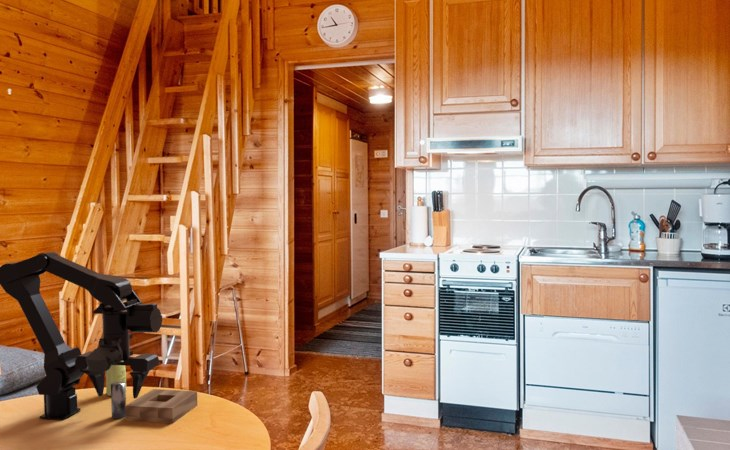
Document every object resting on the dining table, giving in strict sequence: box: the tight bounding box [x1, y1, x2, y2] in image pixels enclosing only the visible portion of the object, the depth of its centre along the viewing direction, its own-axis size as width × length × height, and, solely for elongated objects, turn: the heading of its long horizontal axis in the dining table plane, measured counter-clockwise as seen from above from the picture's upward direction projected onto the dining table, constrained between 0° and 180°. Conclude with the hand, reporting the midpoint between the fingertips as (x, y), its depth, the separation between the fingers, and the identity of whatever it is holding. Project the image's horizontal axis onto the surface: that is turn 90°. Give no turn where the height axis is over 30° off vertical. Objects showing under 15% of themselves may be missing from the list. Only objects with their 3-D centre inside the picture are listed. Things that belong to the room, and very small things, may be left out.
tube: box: [105, 361, 127, 397], centre depth 153 cm, size 6×5×20 cm
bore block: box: [124, 388, 198, 424], centre depth 139 cm, size 12×12×4 cm
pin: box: [110, 381, 127, 420], centre depth 136 cm, size 3×3×8 cm
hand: (118, 397), depth 136 cm, fingers open, 9 cm apart
